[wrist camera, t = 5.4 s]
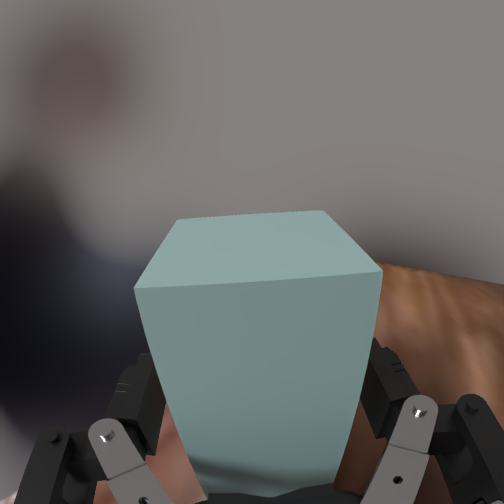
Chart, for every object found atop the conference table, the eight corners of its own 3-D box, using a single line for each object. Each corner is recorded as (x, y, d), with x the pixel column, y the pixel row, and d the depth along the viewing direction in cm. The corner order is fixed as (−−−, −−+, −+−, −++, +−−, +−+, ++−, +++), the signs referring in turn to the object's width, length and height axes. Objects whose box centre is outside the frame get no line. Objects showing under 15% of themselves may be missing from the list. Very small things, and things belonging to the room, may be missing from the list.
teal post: (306, 447, 16) (323, 210, 11) (319, 517, 11) (382, 271, 6) (221, 453, 16) (177, 219, 11) (220, 525, 11) (133, 287, 6)
